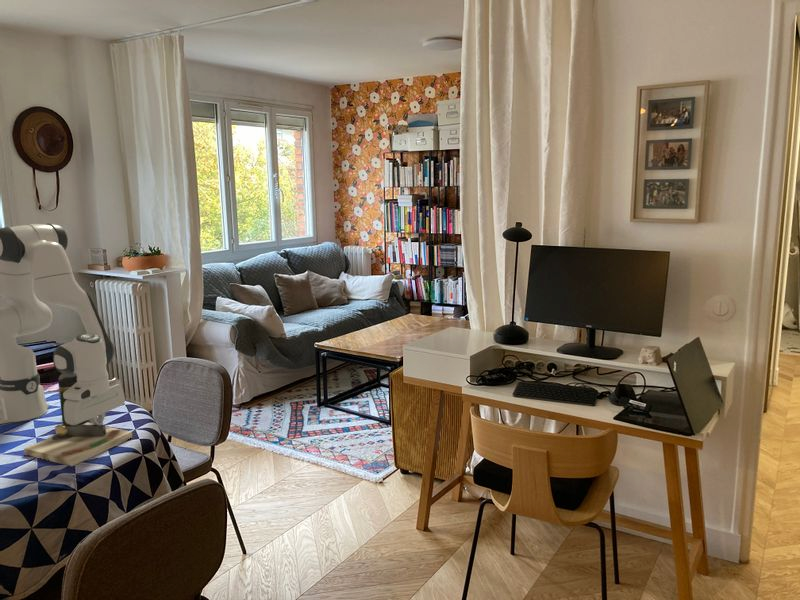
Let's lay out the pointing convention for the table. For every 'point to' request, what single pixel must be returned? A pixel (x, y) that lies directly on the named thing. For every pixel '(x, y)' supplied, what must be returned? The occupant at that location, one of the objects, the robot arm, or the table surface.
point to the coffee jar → (64, 384)
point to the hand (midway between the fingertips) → (98, 428)
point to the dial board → (76, 446)
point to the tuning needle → (79, 430)
